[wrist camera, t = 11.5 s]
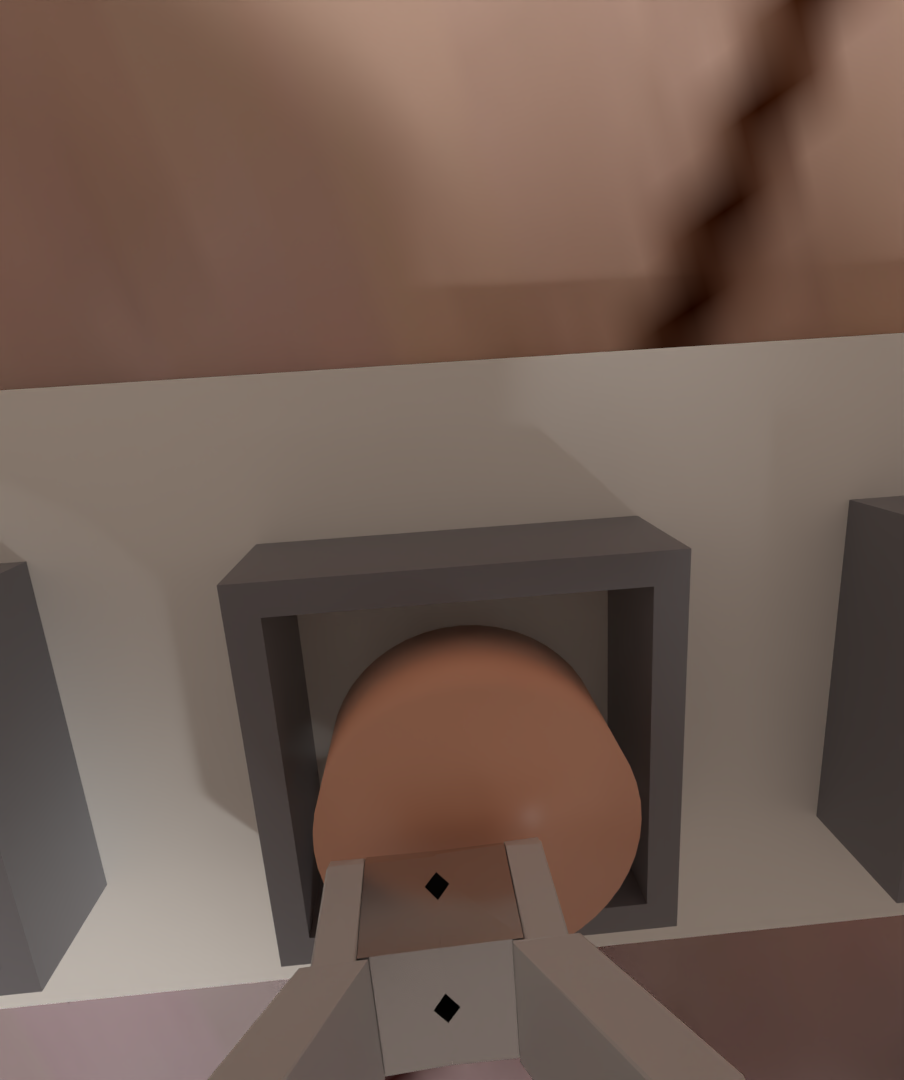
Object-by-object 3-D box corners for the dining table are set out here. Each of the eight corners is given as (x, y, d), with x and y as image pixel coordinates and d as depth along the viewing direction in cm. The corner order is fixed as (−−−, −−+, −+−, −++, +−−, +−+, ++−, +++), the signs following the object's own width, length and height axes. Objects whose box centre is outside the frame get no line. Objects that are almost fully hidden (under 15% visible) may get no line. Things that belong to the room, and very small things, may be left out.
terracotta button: (599, 613, 11) (644, 670, 9) (599, 849, 12) (639, 948, 10) (316, 637, 11) (292, 701, 9) (347, 874, 12) (332, 980, 10)
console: (1218, 315, 14) (1578, 285, 10) (1094, 830, 18) (1316, 978, 13) (-443, 420, 13) (-893, 442, 8) (-211, 961, 16) (-441, 1174, 12)
